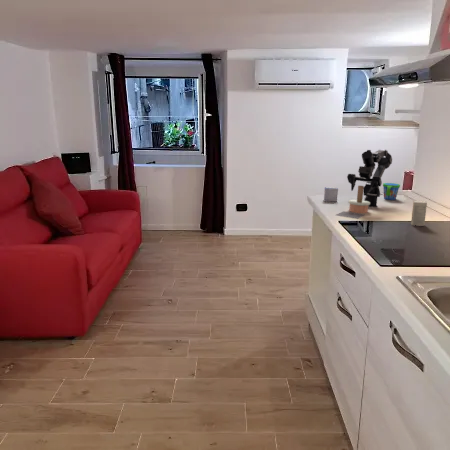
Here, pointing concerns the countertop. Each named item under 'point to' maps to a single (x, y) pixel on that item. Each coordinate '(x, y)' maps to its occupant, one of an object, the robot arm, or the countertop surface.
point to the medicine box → (330, 194)
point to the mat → (350, 215)
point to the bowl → (358, 208)
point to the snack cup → (390, 190)
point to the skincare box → (418, 213)
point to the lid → (359, 198)
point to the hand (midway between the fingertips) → (359, 191)
